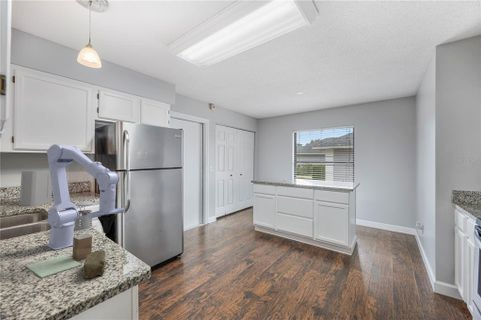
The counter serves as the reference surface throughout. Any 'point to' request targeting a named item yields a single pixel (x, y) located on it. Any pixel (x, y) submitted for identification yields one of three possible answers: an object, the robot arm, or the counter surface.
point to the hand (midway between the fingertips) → (106, 232)
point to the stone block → (94, 264)
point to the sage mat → (53, 266)
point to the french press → (83, 216)
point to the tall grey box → (35, 188)
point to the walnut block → (81, 246)
